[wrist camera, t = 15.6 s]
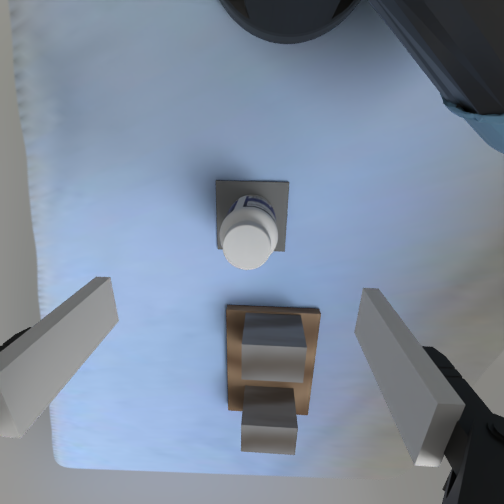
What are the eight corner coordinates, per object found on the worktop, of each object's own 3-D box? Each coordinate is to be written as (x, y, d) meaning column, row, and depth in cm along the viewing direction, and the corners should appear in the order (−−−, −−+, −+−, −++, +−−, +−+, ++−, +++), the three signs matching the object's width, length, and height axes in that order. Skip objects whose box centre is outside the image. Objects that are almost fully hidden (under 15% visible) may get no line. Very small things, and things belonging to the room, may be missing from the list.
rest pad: (216, 180, 30) (215, 180, 30) (288, 182, 30) (289, 182, 30) (218, 247, 33) (217, 249, 33) (284, 250, 33) (284, 251, 33)
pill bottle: (240, 246, 33) (230, 286, 24) (220, 205, 31) (201, 231, 22) (282, 229, 32) (289, 264, 23) (265, 186, 30) (264, 205, 21)
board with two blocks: (227, 304, 36) (218, 341, 30) (319, 308, 36) (330, 346, 29) (229, 403, 43) (222, 451, 36) (306, 407, 43) (313, 457, 36)
